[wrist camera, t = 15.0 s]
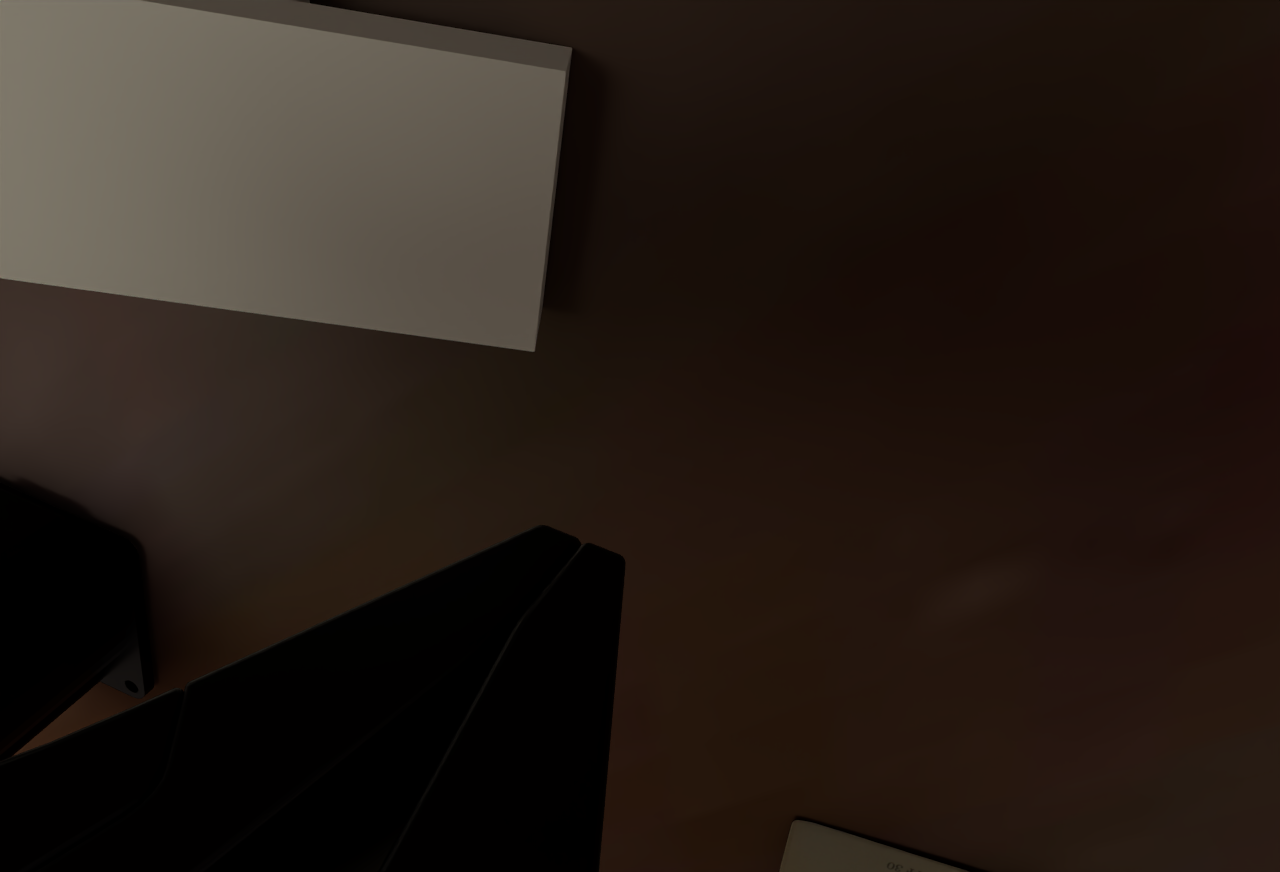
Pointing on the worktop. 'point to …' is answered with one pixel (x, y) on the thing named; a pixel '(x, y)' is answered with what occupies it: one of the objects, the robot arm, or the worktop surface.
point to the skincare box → (848, 853)
